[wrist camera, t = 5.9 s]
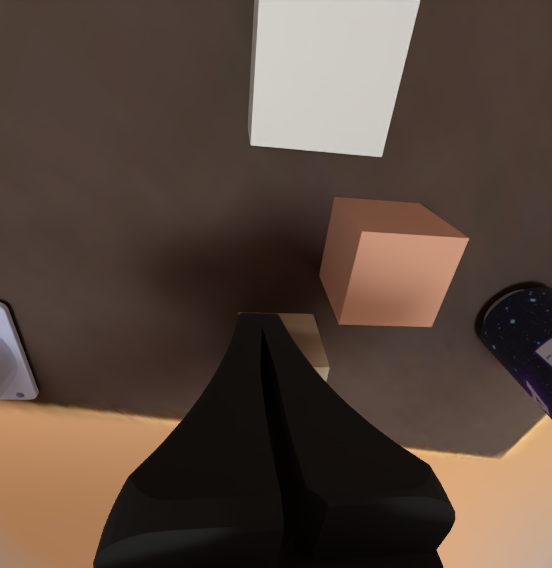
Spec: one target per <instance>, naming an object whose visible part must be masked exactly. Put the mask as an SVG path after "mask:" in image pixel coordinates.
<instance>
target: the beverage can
mask: <svg viewBox="0 0 552 568" xmlns="http://www.w3.org/2000/svg"><path fill="white" fill-rule="evenodd" d="M481 340H482V342H483V344H484V345H485V346H486V347H487V349H488V350H489V351H490V352H491V353H492V354H493V355H494V356H495V357H496V358H497V360H498V361H499V362H500V363H501V364H502V365H503V366H504V367H505V368H506V369H507V371H508V372H509V373H510V374H511V375H512V376H513V377H514V378H515V379H516V380H517V382H518V383H519V384H520V385H521V386H522V387H523V388H524V389H525V390H526V391H527V393H528V394H529V395H530V396H531V397H532V398H533V399H534V400H535V401H536V402H537V404H538V405H539V406H540V407H541V408H542V409H543V410H544V411H545V412H546V413H547V415H548V416H549V417H550V418H551V419H552V289H550V288H546V287H534V288H529V289H523V290H517V291H513V292H511V293H508V294H506V295H504V296H503V297H501V298H499V299H498V300H497V301H496V302H495V303H494V304H492V306H491V307H490V308H489V309H488V311H487V313H486V315H485V317H484V322H483V325H482V328H481Z"/></svg>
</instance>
